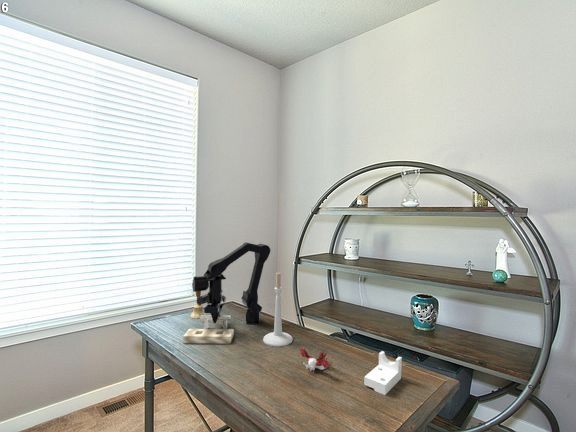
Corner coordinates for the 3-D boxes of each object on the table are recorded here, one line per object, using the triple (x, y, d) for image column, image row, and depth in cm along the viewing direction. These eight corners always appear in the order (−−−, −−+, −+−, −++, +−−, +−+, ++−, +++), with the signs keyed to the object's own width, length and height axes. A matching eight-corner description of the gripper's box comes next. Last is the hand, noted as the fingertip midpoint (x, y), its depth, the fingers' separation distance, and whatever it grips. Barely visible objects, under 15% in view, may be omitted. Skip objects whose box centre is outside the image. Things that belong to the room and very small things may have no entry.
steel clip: (230, 327, 153) (230, 315, 153) (229, 329, 151) (229, 317, 151) (201, 327, 153) (201, 315, 153) (200, 329, 151) (200, 316, 151)
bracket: (381, 371, 115) (382, 351, 114) (401, 379, 110) (401, 357, 110) (364, 387, 105) (364, 364, 105) (385, 396, 100) (385, 372, 100)
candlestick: (259, 344, 135) (259, 274, 134) (268, 332, 148) (268, 268, 147) (288, 348, 132) (289, 275, 131) (295, 335, 145) (295, 269, 144)
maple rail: (233, 335, 144) (233, 329, 144) (230, 343, 136) (230, 336, 136) (189, 335, 144) (189, 328, 144) (183, 343, 136) (183, 336, 136)
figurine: (343, 371, 115) (343, 352, 114) (321, 383, 107) (322, 363, 106) (312, 356, 126) (313, 339, 125) (291, 366, 118) (291, 348, 117)
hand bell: (209, 315, 171) (209, 285, 170) (197, 319, 164) (197, 288, 163) (198, 312, 175) (198, 283, 174) (186, 316, 168) (186, 286, 167)
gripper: (203, 284, 161) (203, 314, 161) (192, 294, 142) (192, 329, 143) (225, 284, 161) (225, 315, 161) (217, 294, 142) (217, 329, 143)
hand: (215, 321), depth 152 cm, fingers open, 3 cm apart
